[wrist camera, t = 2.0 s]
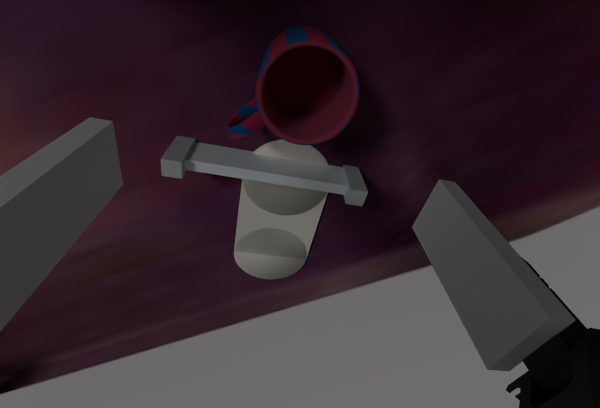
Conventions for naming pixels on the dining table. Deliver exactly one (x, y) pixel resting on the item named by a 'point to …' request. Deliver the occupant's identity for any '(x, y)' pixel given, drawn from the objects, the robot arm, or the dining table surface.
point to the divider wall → (262, 169)
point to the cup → (301, 90)
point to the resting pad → (277, 218)
